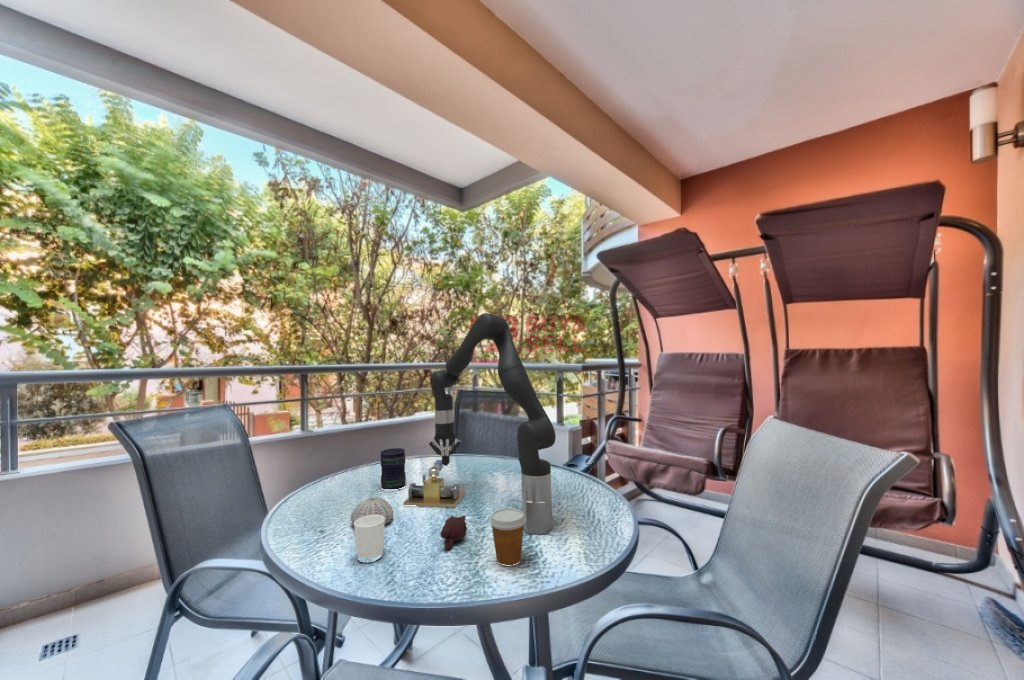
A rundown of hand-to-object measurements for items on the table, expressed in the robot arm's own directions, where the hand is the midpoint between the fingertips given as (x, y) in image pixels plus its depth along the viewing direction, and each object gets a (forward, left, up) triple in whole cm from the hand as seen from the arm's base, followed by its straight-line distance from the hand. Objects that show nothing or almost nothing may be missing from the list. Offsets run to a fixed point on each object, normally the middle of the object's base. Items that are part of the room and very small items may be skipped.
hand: (446, 465), depth 160 cm
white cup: (-50, +6, -11) cm, 52 cm away
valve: (-8, +2, -11) cm, 13 cm away
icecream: (-38, -14, -11) cm, 42 cm away
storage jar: (+4, +24, -11) cm, 27 cm away
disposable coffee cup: (-48, -32, -11) cm, 59 cm away
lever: (-4, +2, -1) cm, 5 cm away
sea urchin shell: (-29, +16, -11) cm, 35 cm away
